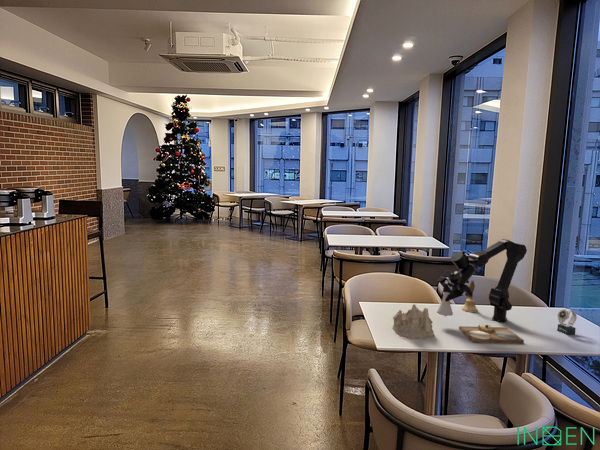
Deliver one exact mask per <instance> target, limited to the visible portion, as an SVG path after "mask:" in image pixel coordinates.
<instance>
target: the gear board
mask: <svg viewBox="0 0 600 450" xmlns="http://www.w3.org/2000/svg"><path fill="white" fill-rule="evenodd" d="M458 330H459V331H460V332H461V333H462V334H463V335H464V336H465V337H466V338H467V339H468V340H470V342H471V343H481V344H483V343H485V344H489V343H490V344H522V345H523V344H525V343H524V342H525V340H524V339H523V338H522V337H520V336H519V335H517V334H516V333H515V332H513V331H512V330H510V329H509V328H508V327H505V326H504V327H501V326H491V325H488V324H482V325H481V324H478V326H462V325H460V326H458Z"/></svg>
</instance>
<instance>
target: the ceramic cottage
mask: <svg viewBox="0 0 600 450" xmlns="http://www.w3.org/2000/svg"><path fill="white" fill-rule="evenodd" d="M416 305H417V304H415V303H413V304H412V306H411V308H410V309H408V310H407V312H402V311H403V310H401V309H399V310H398V311H397V312H396V314H394V316H393V317H392V320H393V326H392V330H393V331H394V333H395V334H397V335H400V337H404V338H406V339H407V338H408V339H411V340H420V339H421V340H422V339H428V338H433V337H434V336H435V333H434V330H433V322H434V321H432V319H431V318H430V316H429V315H430V313H429V308H427V307H424V308H423V310H421V309H419V307H417V306H416Z"/></svg>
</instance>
